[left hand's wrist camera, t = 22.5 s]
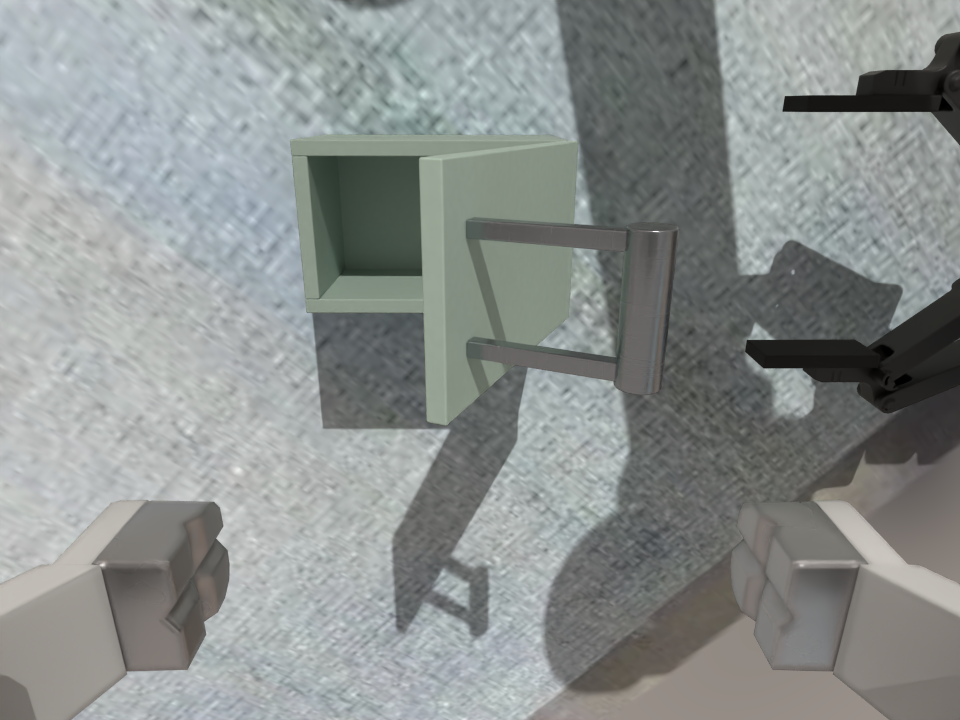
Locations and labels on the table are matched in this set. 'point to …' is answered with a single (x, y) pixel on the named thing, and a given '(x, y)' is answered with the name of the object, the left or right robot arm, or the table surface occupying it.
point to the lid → (526, 275)
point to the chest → (369, 216)
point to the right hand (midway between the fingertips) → (772, 237)
